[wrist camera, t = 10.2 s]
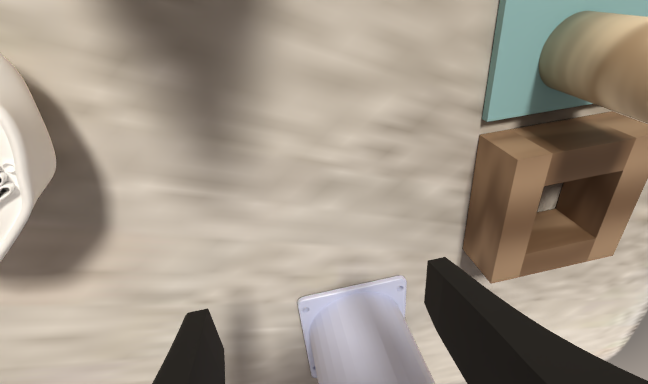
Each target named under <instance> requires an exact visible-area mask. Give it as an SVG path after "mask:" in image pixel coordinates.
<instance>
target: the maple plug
mask: <svg viewBox="0 0 648 384" xmlns="http://www.w3.org/2000/svg"><path fill="white" fill-rule="evenodd" d="M539 74H540V77H541V79H542V81H543V83H544V84H545V85H546V86H548V87H550V88H552V89H555V90H557V91H560V92H563V93H566V94H568V95H571V96H574V97H577V98H579V99H582V100H585V101H588V102H590V103H593V104H596V105H599V106H601V107H604V108H607V109H610V110H612V111H615V112H618V113H621V114H623V115H626V116H629V117H632V118H634V119H637V120H640V121H643V122H645V123H648V17H645V16H635V15H625V14H616V13H606V12H596V11H582V12H578V13H575V14H573V15H571V16H569V17H568V18H566V19H565V20H564V21H562V22H561V23H560V24H559V25H558V26H557V27H556V28H555V29H554V30H553V32H552V33H551V34H550V36H549V37H548V39H547V40H546V42H545V44H544V46H543V49H542V51H541V55H540V59H539Z"/></svg>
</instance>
